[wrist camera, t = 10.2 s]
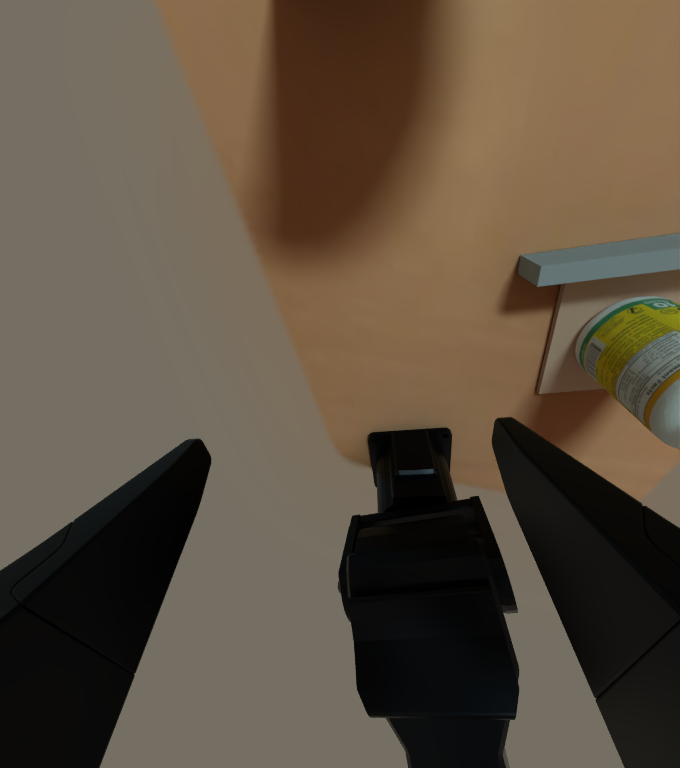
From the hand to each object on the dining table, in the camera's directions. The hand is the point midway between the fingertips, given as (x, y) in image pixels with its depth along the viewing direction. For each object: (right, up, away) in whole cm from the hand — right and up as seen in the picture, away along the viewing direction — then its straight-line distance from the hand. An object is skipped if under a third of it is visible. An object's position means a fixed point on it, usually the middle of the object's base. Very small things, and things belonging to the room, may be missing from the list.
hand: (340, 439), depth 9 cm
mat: (+17, +5, +10) cm, 20 cm away
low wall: (+16, +9, +7) cm, 20 cm away
